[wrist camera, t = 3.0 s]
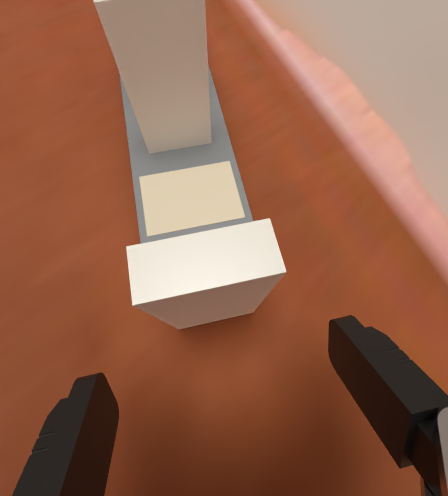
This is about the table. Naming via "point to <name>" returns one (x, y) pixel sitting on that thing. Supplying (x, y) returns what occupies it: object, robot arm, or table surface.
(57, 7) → the table surface
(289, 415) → the table surface
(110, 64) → the table surface
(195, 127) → the domino
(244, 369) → the table surface
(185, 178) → the board
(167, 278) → the domino
